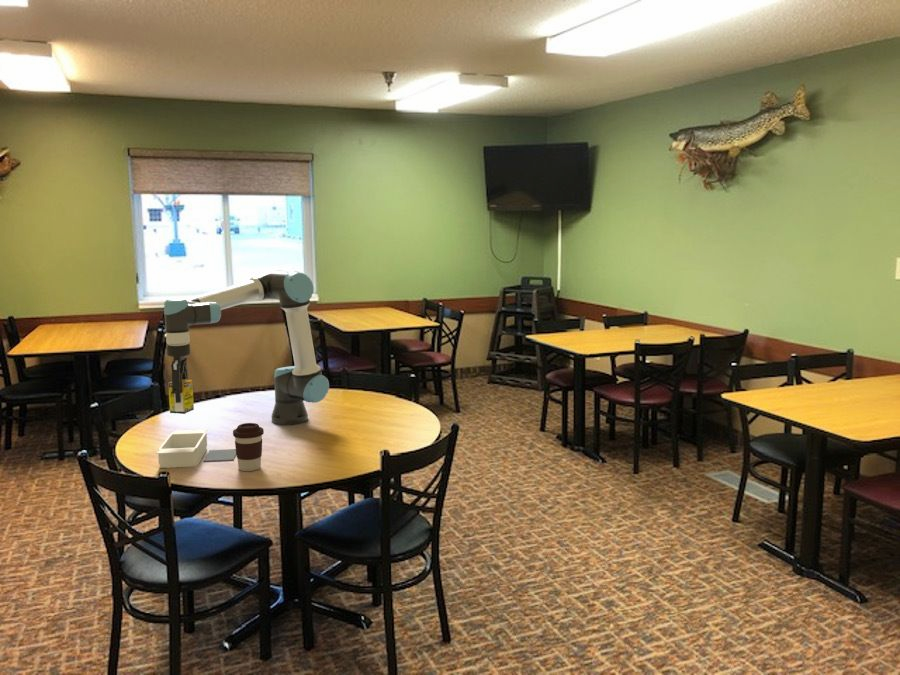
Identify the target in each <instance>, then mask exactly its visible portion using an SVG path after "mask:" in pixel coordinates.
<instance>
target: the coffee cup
mask: <svg viewBox="0 0 900 675" xmlns="http://www.w3.org/2000/svg"><path fill="white" fill-rule="evenodd" d="M264 431H265V430H264V428H263V427H261V426H260V425H259V423H255V422H254V423H253V422H246V423H241V424H239V425H238V426H237V427H236V428H234V429H233V431H232V435H233V437H234V444H235V449H236V456H235V457H236V459H237V468H238V469H239V470H240V471H242V472H253V471H257V470H259V469H260V468H261V467H262V466H261V465H262V455H263V454H262V453H263V437H262V436H263V435H264Z"/></svg>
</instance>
